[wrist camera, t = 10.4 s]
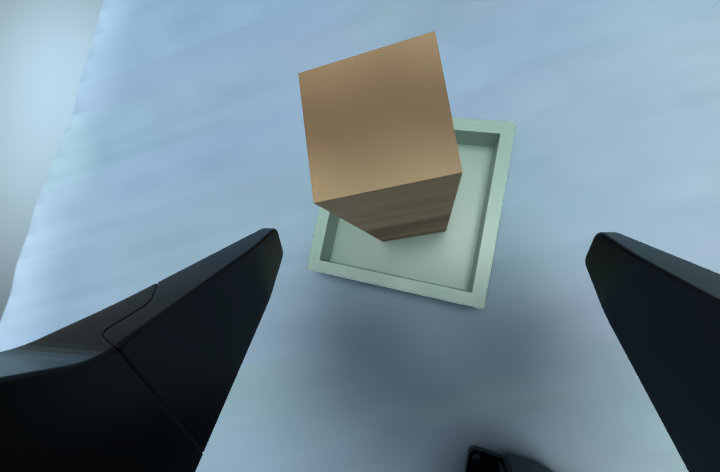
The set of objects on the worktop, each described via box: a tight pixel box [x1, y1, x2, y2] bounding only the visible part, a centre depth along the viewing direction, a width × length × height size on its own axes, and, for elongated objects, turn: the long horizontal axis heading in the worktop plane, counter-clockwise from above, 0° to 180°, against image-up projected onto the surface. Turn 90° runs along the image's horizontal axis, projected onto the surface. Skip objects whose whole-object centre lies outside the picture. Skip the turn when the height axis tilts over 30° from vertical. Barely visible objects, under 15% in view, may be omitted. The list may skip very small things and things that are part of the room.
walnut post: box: [298, 31, 463, 242], centre depth 16 cm, size 4×4×13 cm
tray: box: [307, 118, 517, 309], centre depth 21 cm, size 12×12×3 cm
